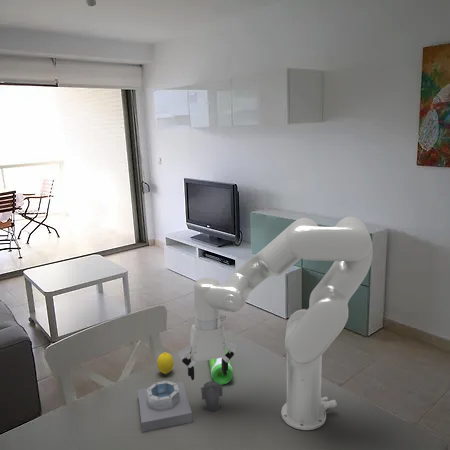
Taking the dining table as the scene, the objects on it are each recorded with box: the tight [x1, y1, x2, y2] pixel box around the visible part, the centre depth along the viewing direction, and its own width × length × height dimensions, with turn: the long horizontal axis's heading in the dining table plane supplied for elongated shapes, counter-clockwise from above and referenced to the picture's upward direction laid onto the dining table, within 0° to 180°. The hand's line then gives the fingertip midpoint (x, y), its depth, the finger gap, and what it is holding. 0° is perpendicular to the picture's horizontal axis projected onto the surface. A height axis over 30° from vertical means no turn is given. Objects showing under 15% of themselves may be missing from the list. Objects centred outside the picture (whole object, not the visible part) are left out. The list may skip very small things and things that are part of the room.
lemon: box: [156, 351, 175, 375], centre depth 144 cm, size 6×6×8 cm
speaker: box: [208, 347, 234, 386], centre depth 145 cm, size 18×7×8 cm, turn 7°
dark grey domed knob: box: [200, 380, 223, 413], centre depth 126 cm, size 6×5×7 cm
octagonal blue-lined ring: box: [147, 380, 180, 411], centre depth 125 cm, size 9×9×4 cm
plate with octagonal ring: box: [137, 381, 193, 433], centre depth 126 cm, size 14×16×3 cm
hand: (208, 375), depth 125 cm, fingers open, 9 cm apart
